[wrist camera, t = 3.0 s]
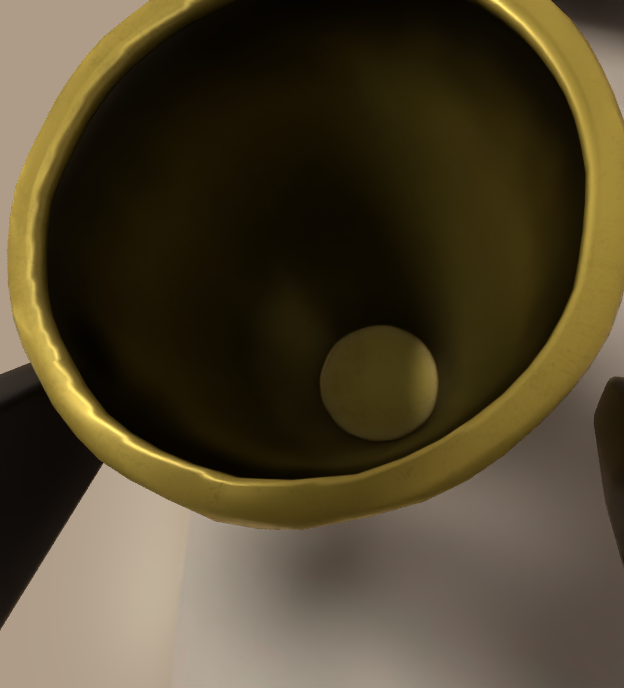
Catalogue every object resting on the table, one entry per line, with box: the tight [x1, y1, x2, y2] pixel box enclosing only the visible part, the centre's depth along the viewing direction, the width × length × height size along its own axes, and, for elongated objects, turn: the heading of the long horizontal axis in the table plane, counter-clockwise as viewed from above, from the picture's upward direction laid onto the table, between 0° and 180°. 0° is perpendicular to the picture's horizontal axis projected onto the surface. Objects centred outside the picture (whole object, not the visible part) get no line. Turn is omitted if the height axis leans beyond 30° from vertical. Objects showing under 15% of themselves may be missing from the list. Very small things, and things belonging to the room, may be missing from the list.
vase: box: [7, 0, 624, 530], centre depth 11 cm, size 6×6×14 cm
